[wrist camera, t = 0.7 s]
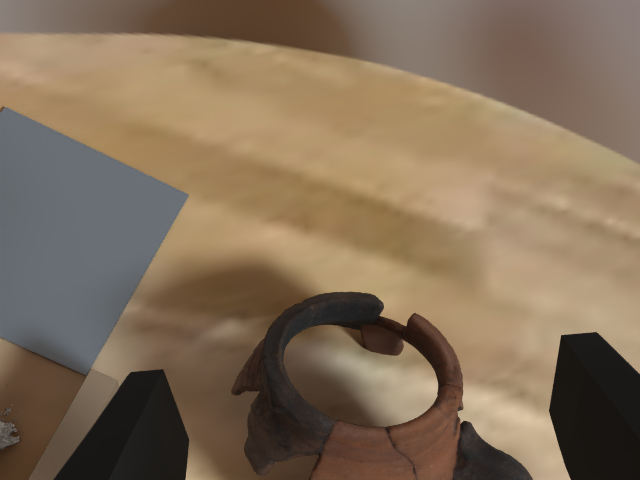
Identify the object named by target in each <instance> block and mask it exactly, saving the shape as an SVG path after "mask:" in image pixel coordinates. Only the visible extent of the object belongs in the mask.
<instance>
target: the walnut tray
mask: <svg viewBox="0 0 640 480" xmlns="http://www.w3.org/2000/svg"><path fill="white" fill-rule="evenodd" d="M118 389H119V384H118V381H117V380H115V379H113V378H111V377H109V376H106V375H104V374H102V373H100V372H97V371H95V370H93V369H91V370H90V372H89V374H88V375H87V377H86V379H85V381H84V383H83V384H82V386H81V388H80V390H79V391H78V393H77V395H76V397H75V398H74V400H73V402H72V404H71V405H70V407H69V409H68V411H67V412H66V414H65V416H64V418H63V420H62V421H61V423H60V425H59V427H58V428H57V430H56V432H55V434H54V435H53V437H52V439H51V441H50V442H49V444H48V446H47V448H46V450H45V451H44V453H43V455H42V457H41V458H40V460H39V462H38V464H37V465H36V467H35V469H34V471H33V472H32V474H31V476H30V478H29V480H53V479H54V478H55V476H56V475H57V474H58V472H59V471H60V470H61V468H62V467H63V466H64V464H65V463H66V462H67V460H68V459H69V458H70V456H71V455H72V453H73V452H74V451H75V449H76V448H77V447H78V445H79V444H80V443H81V441H82V440H83V439H84V437H85V436H86V434H87V433H88V432H89V430H90V429H91V427H92V426H93V425H94V423H95V422H96V420H97V419H98V417H99V416H100V415H101V413H102V412H103V410H104V409H105V407H106V406H107V405H108V403H109V402H110V400H111V399H112V397H113V396H114V394H115V393H116V392H117V390H118Z"/></svg>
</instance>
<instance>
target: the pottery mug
mask: <svg viewBox="0 0 640 480" xmlns="http://www.w3.org/2000/svg"><path fill="white" fill-rule="evenodd" d="M383 309H384V304H383V302H382V301H380V300H379V299H378V298H377V297H376V296H375V295H372V294H368V293H360V292H332V293H325V294H319V295H317V296H314V297H311V298H308V299H306V300H304V301H303V302H302V303H298V304H295V305H294V306H292V307H290V308H288V309H286V310H285V311H284V312H283V313H282V314H281V315H280V316H279V317H278V318H277V319H276V320H275V321H274V322H273V323H272V325H271V326H270V328H269V329H268V331H267V334H266V336H265V338H264V339H263V340H262V341H261V342H260V343H259V345H258V346H257V347H256V349H255V350H254V352H253V354H252V355H251V357H250V358H249V360H248V361H247V363H246V364H245V366H244V367H243V369H242V371H241V372H240V373H239V375H238V377H237V379H236V381H235V383H234V386H233V388H232V390H231V392H232V394H233V395H240V394H241V393H243V392H245V391H260V393H259V394H258V396H257V398H256V399H255V400H254V402H253V403H252V405H251V410H250V413H249V415H248V438H247V440H246V443H245V448H244V451H245V455H246V457H247V458H248V460H249V462H250V464H251V466H252V468H253V470H254V471H255V472H256V473H257V474H258V475H260V476H263V475H265V474H266V473H268V471H269V470H270V469H271V467H272V466H273V465H274V463H275V462H282V461H287V460H289V459H292V458H295V457H299V456H308V455H313V454H318V455H319V458H318V460H317V462H316V464H315V466H314V468H313V470H312V473H311V475H310V477H309V479H308V480H533V479H532V477H531V475H530V474H529V472H528V471H527V469H526V468H525V467H524V466H523V465H522V464H521V463H519V462H518V461H517V460H516V459H514V458H513V457H512V456H510V455H508V454H506V453H504V452H503V451H500V450H498V449H496V448H494V447H492V446H491V445H489V444H488V443H486V442H485V441H484V440H483V439H482V438H481V437H480V436H479V435H478V434H477V432H476V431H475V429H474V427H473V426H472V424H471V423H470V422H468V421H463V422H462V423H461V424H460V418H459V417H458V412H457V411H460V410H463V402H462V396H463V381H462V373H461V368H460V365H459V361H458V359H457V356H456V354H455V352H454V350H453V348H452V347H451V346H450V344H449V343H448V342H447V340H446V338H445V337H444V336H443V335H442V334H441V332H440V331H439V330H438V329H437V328H436V327H434V326H433V325H432V324H431V323H430V322H429V321H428V320H426V319H425V318H423V317H422V316H420V315H418V314H416V313H414V314H413V315H412V316H411V317H410V318H409V320H408V322H407V326H404V325H401V324H400V323H398V322H396V321H394V320H391V319H388V318H384V317H382V316H379V315H380V313H381V312H382V310H383ZM317 325H339V326H343V327H349V328H352V329H357V330H360V331H361V337H362V339H363V342H364V345H365V347H366V349H368V350H370V351H371V352H376V353H380V354H385V355H394V356H397V355H399V354H400V353H401V352H402V350H403V347H404V345H403V340H404V341H406V342H408V343H409V344H411V345H412V346H413V347H415V348H416V349H417V350H418V351H419V352H420V353H421V354H422V355H423V356H424V357H425V358H426V359H427V360H428V362H429V363H430V364H431V365H432V367H433V369H434V371H435V373H436V376H437V380H438V393H437V394H438V396H437V398H436V400H435V402H434V404H433V405H432V406H431V407H430V408H429V409H428V410H427V411H426V412H425V413H423V414H422V415H420V416H419V417H417V418H415V419H413V420H411V421H409V422H406V423H402V424H399V425H394V426H389V427H386V428H384V427H367V426H361V425H355V424H351V423H347V422H343V421H340V420H333V419H331V418H330V417H329V416H327V415H325V414H324V413H322V412H321V411H319V410H317V409H316V408H315V407H313V406H312V405H310V404H309V403H308V402H307V401H305V400H304V399H303V398H302V397H301V396H300V394H299V393H298V392H297V390H296V389H295V388H294V386H293V385H292V384H291V382H290V380H289V378H288V376H287V374H286V371H285V368H284V365H283V354H284V350H285V348H286V346H287V344H288V343H289V341H290V340H291V339H292V338H293V337H294V336H295V335H296V334H298V333H299V332H301V331H303V330H305V329H307V328H309V327H312V326H317Z"/></svg>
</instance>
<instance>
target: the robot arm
mask: <svg viewBox="0 0 640 480" xmlns="http://www.w3.org/2000/svg"><path fill="white" fill-rule="evenodd" d="M549 412H550V416H551V419H552V423H553V426H554V430H555V433H556V437H557V441H558V444H559V447H560V450H561V454H562V457H563V460H564V463H565V466H566V469H567V471H568V474H569V476H570V478H571V480H640V374H639V373H638V372H637V371H636V370H635V369H634V368H633V367H632V366H631V365H630V364H629V363H628V362H627V361H626V360H625V359H624V358H623V357H622V356H621V355H620V354H619V353H618V352H617V351H616V350H615V349H614V348H613V347H612V346H611V345H610V344H609V343H608V342H607V341H606V340H604V339H603V338H602V337H601V336H600V335H599V334H598V333H597V332H593V333H581V334H570V335H561V340H560V346H559V353H558V359H557V365H556V371H555V377H554V384H553V390H552V396H551V402H550V409H549ZM188 447H189V438H188V435H187V432H186V430H185V427H184V424H183V422H182V419H181V416H180V413H179V411H178V408H177V405H176V403H175V400H174V397H173V395H172V392H171V389H170V386H169V384H168V381H167V378H166V376H165V373H164V370H163V369H162V370H150V371H139V372H131V373H130V374H129V375H128V376H127V377H126V379H125V380H124V382H123V383H122V384H121V386H120V387H119V389H118V390H117V392H116V393H115V394H114V396H113V397H112V399H111V400H110V402H109V403H108V405H107V406H106V407H105V409H104V410H103V412H102V413H101V415H100V416H99V417H98V419H97V420H96V422H95V423H94V425H93V426H92V427H91V429H90V430H89V432H88V433H87V434H86V436H85V437H84V439H83V440H82V441H81V443H80V444H79V445H78V447H77V448H76V449H75V451H74V452H73V453H72V455H71V456H70V458H69V459H68V460H67V462H66V463H65V464H64V466H63V467H62V468H61V470H60V471H59V472H58V474H57V475H56V476H55V478H54V479H53V480H185V478H186V469H187V458H188Z"/></svg>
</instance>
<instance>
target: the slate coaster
mask: <svg viewBox="0 0 640 480" xmlns="http://www.w3.org/2000/svg"><path fill="white" fill-rule="evenodd" d="M188 196H189V195H188V194H186V193H184V192H182V191H180V190H178V189H176V188H174V187H172V186H169V185H167V184H165V183H163V182H161V181H159V180H157V179H155V178H153V177H151V176H149V175H147V174H144V173H142V172H140V171H138V170H136V169H134V168H132V167H130V166H128V165H126V164H124V163H121V162H119V161H117V160H115V159H113V158H111V157H109V156H107V155H105V154H103V153H101V152H99V151H96V150H94V149H92V148H90V147H88V146H86V145H84V144H82V143H80V142H78V141H76V140H73V139H71V138H69V137H67V136H65V135H63V134H61V133H59V132H57V131H55V130H53V129H51V128H48V127H46V126H44V125H42V124H40V123H38V122H36V121H34V120H32V119H30V118H28V117H26V116H23V115H21V114H19V113H17V112H15V111H13V110H11V109H9V108H7V107H5V108H4V109H3V110H2V112H1V113H0V337H1V338H3V339H5V340H7V341H10V342H12V343H14V344H16V345H18V346H21V347H23V348H25V349H27V350H30V351H32V352H34V353H36V354H39V355H41V356H43V357H45V358H48V359H50V360H52V361H54V362H56V363H59V364H61V365H63V366H65V367H68V368H70V369H72V370H74V371H77V372H79V373H81V374H83V375H86V376H87V374H88V372H89V371H90V369H91V367H92V365H93V364H94V362H95V360H96V358H97V357H98V355H99V353H100V351H101V349H102V348H103V346H104V344H105V342H106V341H107V339H108V337H109V335H110V334H111V332H112V330H113V328H114V327H115V325H116V323H117V321H118V320H119V318H120V316H121V314H122V312H123V311H124V309H125V307H126V305H127V304H128V302H129V300H130V298H131V297H132V295H133V293H134V291H135V290H136V288H137V286H138V284H139V283H140V281H141V279H142V277H143V275H144V274H145V272H146V270H147V268H148V267H149V265H150V263H151V261H152V260H153V258H154V256H155V254H156V253H157V251H158V249H159V247H160V246H161V244H162V242H163V240H164V238H165V237H166V235H167V233H168V231H169V230H170V228H171V226H172V224H173V223H174V221H175V219H176V217H177V216H178V214H179V212H180V210H181V209H182V207H183V205H184V203H185V201H186V200H187V198H188Z"/></svg>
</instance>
